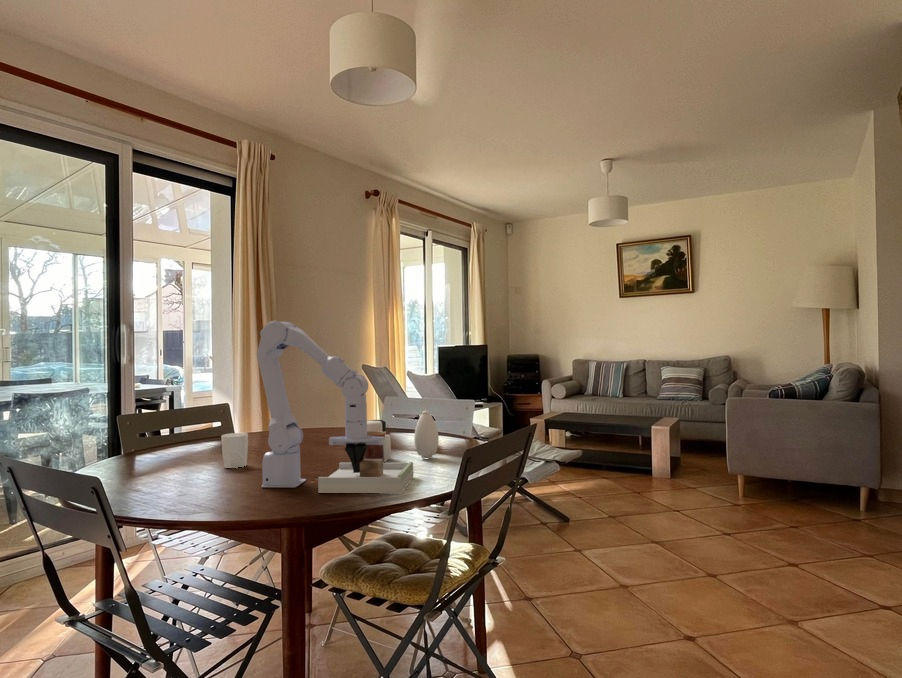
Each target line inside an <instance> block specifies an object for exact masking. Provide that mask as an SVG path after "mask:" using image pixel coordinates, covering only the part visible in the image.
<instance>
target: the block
mask: <svg viewBox="0 0 902 678" xmlns="http://www.w3.org/2000/svg"><path fill="white" fill-rule="evenodd" d="M382 474H383V459H364V460H363V461H361V462H360V477H380V476H381V475H382Z"/></svg>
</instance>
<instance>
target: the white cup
mask: <svg viewBox="0 0 902 678" xmlns="http://www.w3.org/2000/svg"><path fill="white" fill-rule="evenodd" d="M220 437H221V439H220V440H221V452H222V453H221V454H222V460H223V468H224V467H225V468H224V469H226V468H236V469H239V468H238V467H242V468H244V466H245V467H247V466H246V465H247V462H248V449H249V448H248V446H249V433H248V432H233V433H232V432H230V433H225V434H222V435H221V436H220Z"/></svg>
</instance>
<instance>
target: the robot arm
mask: <svg viewBox="0 0 902 678" xmlns="http://www.w3.org/2000/svg"><path fill="white" fill-rule="evenodd" d="M259 334H260V341H259V344H258V347H257V352H256V358H257V362H258V367H259V370H260V375H261V379H262V382H263V383H262V385H263V388H264V393H265V397H266V400H267V406H268V410H269V413H270V414H269V415H270V422H269V424H268V427H267V428H268V431H269V432H268V433H269V434H268V437H267V442H268V446H269V449H270V450H271V451H267V452H265V453H264V455H263V458H262V461H261V462H262V463H261V464H262V465H261V467H262V470H261V471H262V485H261V488H297V487H299V486H300V485H301V484H303V483H304V482H306V481H307V478H301V476H302V475H301V473H302V472H301V447H300V445H301V443H302V441H303V439H304V432H303V429H302V428H301V427H300V426H299V424H298V422H297V418H296V417H295V415H293V414H292V410H291V405H290V402H289V398H288V393H287V389H286V384H285V380H284V377H283V372H282V368H281V363H280V356H281V355H282V354H283V353H284V351H285V350H286V349H288V347H290V346H291V347H296V348H299V349H300V350H301V351H303V352H304V353H305V354H306V355H308V356H309V357H310V358H311V359H312V360H314V361H316V363H318V364H319V365H320V366H321V373H322V374H324V375H325V376H326V377H327V378H328V379H329V380H331V382H332V383H334V384H335V385H336V386H337V387H339V388H340V389H341V393H342V395H343V396H344V425H345V426H344V427H345V429H344V431H345V435H343V436H330V437H329V438H328V445H329V446H334V445H335V446H340V445H341V446H342V445H343V446H344V445H345V447H344V450H345V452H346V454H347V456H348V458H349V461H350V463H352V467H353V471H354V473H359V472H360V462H361V461H362V460H363V457H364V454H365V452H366V449H367V447H368V445H383V444H384V437H377V436H367V421H368V415H367V414H368V413H367V411H368V410H367V408H368V407H367V406H368V405H367V392H368V390H369V382H368V380H367V379H366V377H365V376H364V375H362V374H358V371H357V369H354V370H353V369H352V368H351V367H349V366H348V365H347V363H345V359H344V358H343V357H341V356H340V357H338V355H337V356H336V355H333V356H330V355H329V354H328V353H327V352H326V351H325V350H324V349H322V347H321V346H320V345H318V343H316V342H315V341H314V340H313V339H312V338H311V337H310V336H309V335H308V334H307V333H306V332H305V331H304V330H303V329H302V328H300V327H297V325H296V324H294V323H293V322H291V321H279V320H271V321H269V322H267V323H266V324H265V325H264V327H263V328H262V329H260V332H259Z"/></svg>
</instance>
